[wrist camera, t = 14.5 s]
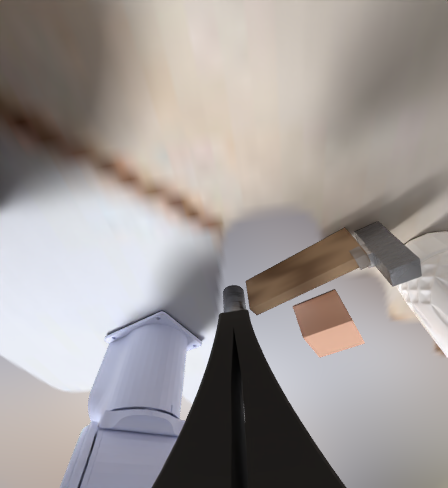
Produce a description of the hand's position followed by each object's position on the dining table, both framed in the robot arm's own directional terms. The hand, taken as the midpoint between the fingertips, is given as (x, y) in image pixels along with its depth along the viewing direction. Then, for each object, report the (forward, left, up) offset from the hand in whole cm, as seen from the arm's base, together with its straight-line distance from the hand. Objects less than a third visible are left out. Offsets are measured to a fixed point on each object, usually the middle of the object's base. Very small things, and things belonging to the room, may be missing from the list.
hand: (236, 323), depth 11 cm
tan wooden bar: (+3, -7, -10) cm, 13 cm away
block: (+3, -16, -10) cm, 19 cm away
